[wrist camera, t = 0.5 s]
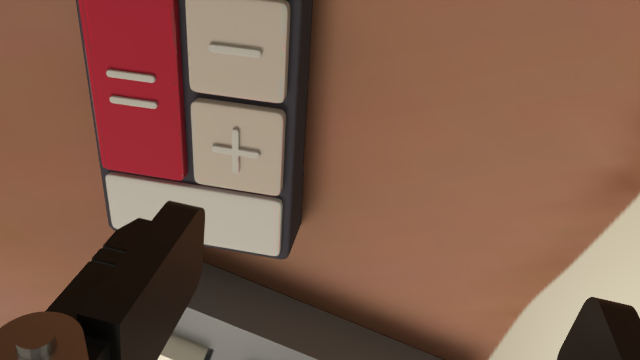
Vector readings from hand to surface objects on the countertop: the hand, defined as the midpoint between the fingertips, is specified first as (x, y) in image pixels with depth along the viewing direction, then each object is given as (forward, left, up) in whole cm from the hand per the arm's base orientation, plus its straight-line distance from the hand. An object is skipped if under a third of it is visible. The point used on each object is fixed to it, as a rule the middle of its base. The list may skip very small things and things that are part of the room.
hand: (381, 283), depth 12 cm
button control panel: (+9, -9, -19) cm, 22 cm away
